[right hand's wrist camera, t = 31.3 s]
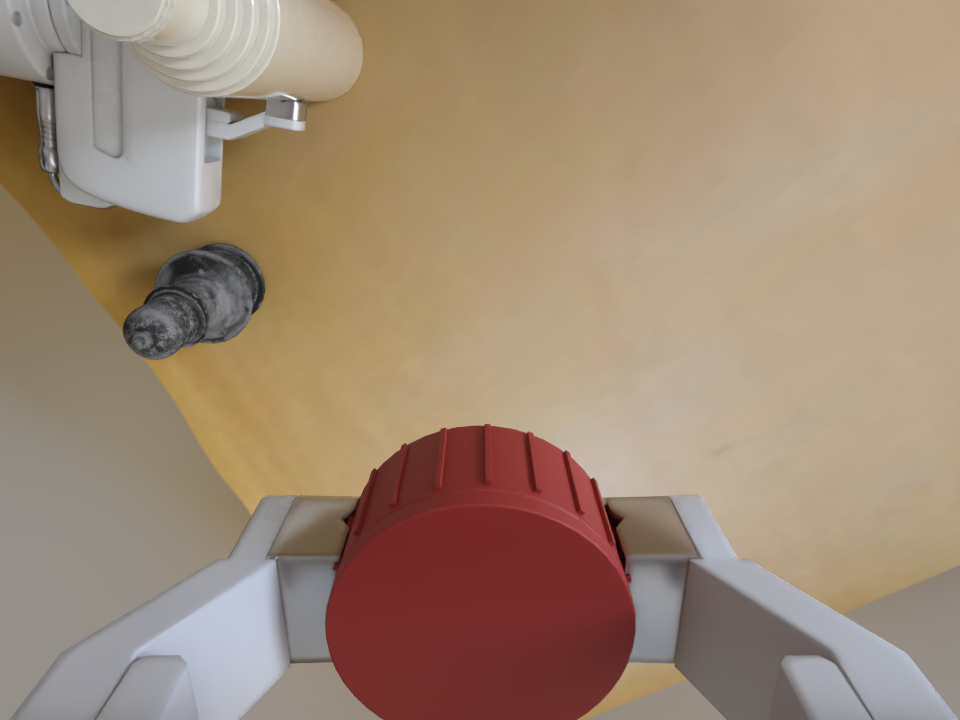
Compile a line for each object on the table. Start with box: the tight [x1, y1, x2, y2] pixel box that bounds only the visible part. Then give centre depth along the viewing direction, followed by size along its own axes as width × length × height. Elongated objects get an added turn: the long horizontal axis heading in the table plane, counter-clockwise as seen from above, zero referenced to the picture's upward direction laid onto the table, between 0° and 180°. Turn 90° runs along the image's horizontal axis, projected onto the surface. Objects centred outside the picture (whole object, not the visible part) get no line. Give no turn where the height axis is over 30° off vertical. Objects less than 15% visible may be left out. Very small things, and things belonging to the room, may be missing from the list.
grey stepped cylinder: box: [123, 244, 265, 360], centre depth 37 cm, size 6×6×12 cm
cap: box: [325, 424, 636, 720], centre depth 9 cm, size 4×4×2 cm
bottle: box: [67, 0, 363, 102], centre depth 27 cm, size 6×6×23 cm
